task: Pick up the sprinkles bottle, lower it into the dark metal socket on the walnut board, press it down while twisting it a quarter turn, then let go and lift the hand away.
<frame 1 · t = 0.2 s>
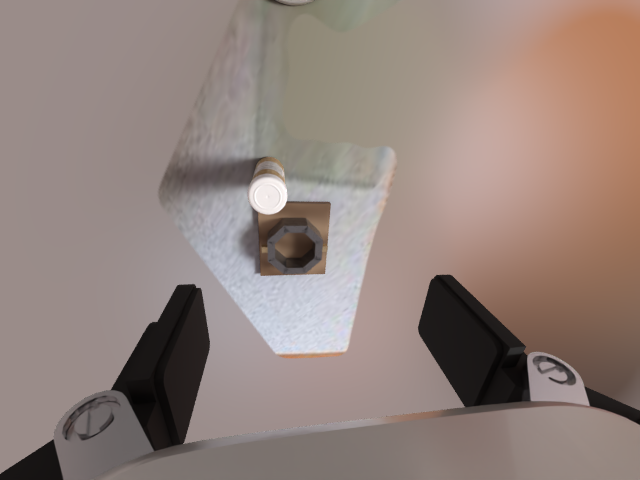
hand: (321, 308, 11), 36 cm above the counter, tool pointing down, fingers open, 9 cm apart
sprinkles bottle: (269, 170, 43), on the counter
walnut board: (293, 238, 49), on the counter
socket: (294, 246, 47), on the walnut board, point 3 cm above the counter
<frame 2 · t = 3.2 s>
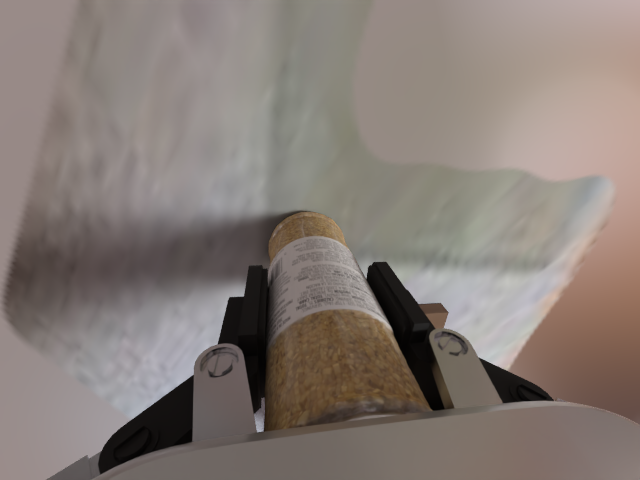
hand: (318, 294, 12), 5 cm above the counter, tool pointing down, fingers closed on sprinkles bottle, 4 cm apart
sprinkles bottle: (306, 243, 17), on the counter, touching gripper
walnut board: (351, 376, 22), on the counter
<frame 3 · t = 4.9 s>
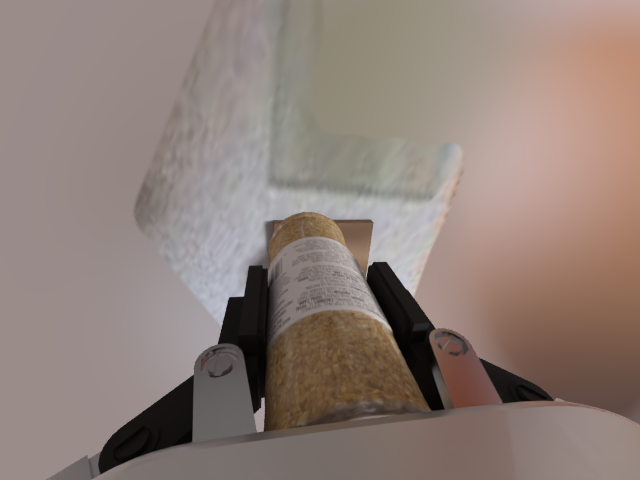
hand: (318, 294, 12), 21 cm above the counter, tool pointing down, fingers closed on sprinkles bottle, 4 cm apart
sprinkles bottle: (306, 243, 17), point 16 cm above the counter, touching gripper
walnut board: (320, 269, 37), on the counter
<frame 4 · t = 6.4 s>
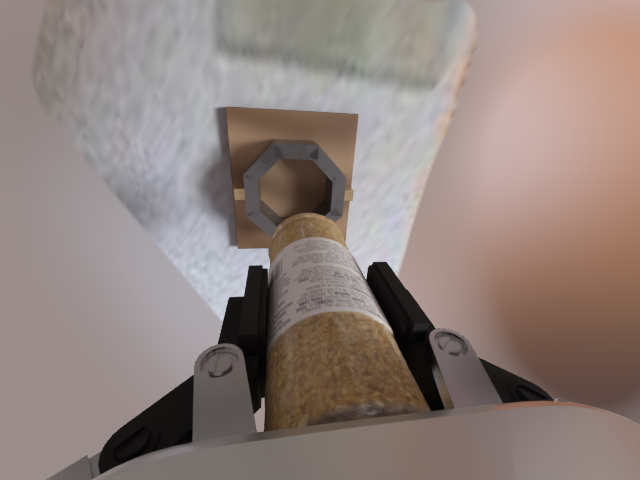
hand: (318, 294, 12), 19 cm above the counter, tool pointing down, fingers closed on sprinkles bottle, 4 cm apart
sprinkles bottle: (306, 243, 17), point 14 cm above the counter, touching gripper
walnut board: (293, 184, 29), on the counter
socket: (294, 191, 26), on the walnut board, point 3 cm above the counter
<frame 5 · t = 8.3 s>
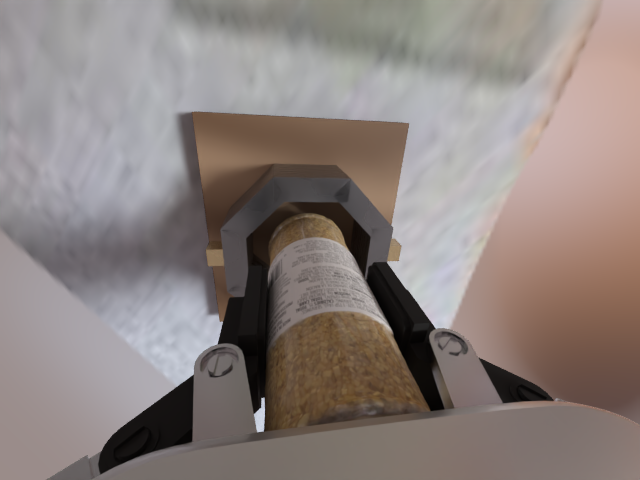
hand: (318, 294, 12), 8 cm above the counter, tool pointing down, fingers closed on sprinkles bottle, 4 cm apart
sprinkles bottle: (306, 244, 17), point 3 cm above the counter, touching gripper
walnut board: (302, 227, 19), on the counter
socket: (306, 245, 17), on the walnut board, point 3 cm above the counter
when the fingers open (6 cm above the counter, at t = 10.0 s): sprinkles bottle stays where it is, resting on walnut board.
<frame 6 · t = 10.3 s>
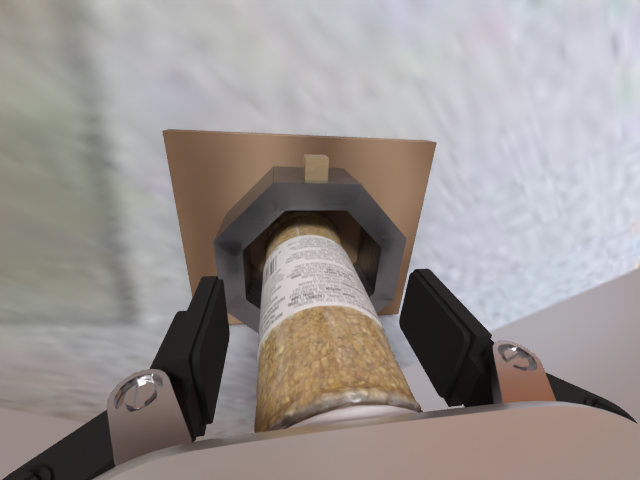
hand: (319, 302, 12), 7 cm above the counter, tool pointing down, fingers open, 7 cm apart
sprinkles bottle: (302, 241, 17), point 1 cm above the counter, touching walnut board
walnut board: (304, 235, 17), on the counter
socket: (309, 256, 15), on the walnut board, point 3 cm above the counter
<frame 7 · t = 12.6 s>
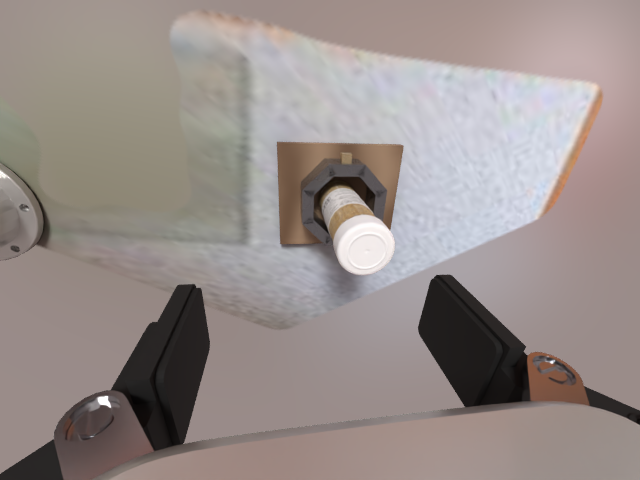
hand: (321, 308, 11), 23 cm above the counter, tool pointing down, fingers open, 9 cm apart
sprinkles bottle: (336, 197, 33), point 1 cm above the counter, touching walnut board
walnut board: (337, 195, 33), on the counter
socket: (341, 202, 31), on the walnut board, point 3 cm above the counter
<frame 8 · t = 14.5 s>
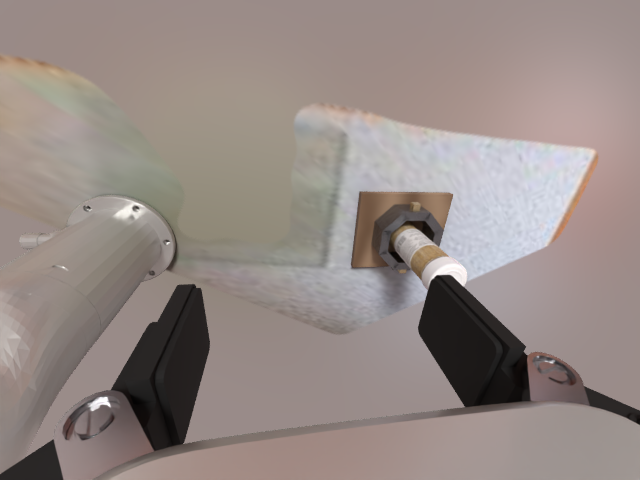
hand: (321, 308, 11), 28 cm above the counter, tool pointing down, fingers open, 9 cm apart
sprinkles bottle: (399, 232, 42), point 1 cm above the counter, touching walnut board
walnut board: (398, 229, 43), on the counter
socket: (406, 237, 40), on the walnut board, point 3 cm above the counter
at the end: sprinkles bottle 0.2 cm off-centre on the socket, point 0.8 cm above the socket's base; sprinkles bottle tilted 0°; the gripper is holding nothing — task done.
